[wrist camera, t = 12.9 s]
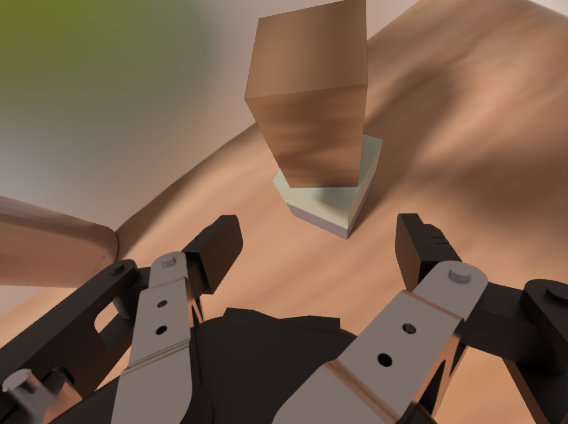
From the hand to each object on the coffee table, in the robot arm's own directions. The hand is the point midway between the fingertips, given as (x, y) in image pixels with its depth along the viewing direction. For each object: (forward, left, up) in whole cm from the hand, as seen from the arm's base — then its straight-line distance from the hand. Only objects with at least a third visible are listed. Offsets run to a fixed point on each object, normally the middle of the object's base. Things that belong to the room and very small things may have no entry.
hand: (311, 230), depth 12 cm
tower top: (-3, +7, -11) cm, 14 cm away
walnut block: (-4, +7, -6) cm, 10 cm away
